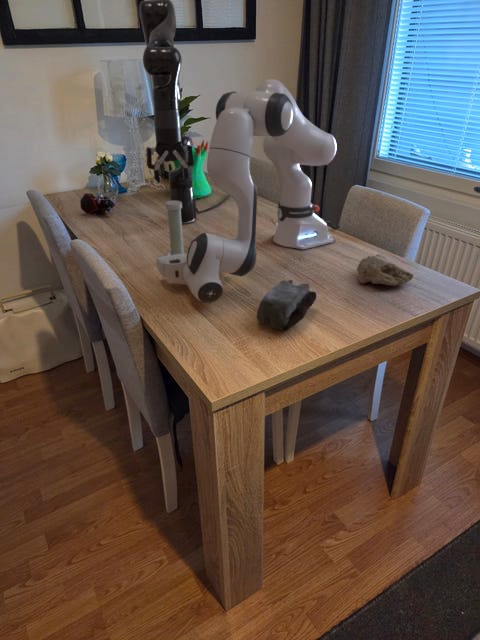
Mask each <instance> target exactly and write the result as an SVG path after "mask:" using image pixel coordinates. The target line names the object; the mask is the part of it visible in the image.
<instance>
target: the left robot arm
mask: <svg viewBox="0 0 480 640" xmlns="http://www.w3.org/2000/svg"><path fill="white" fill-rule="evenodd" d="M138 9H139V17H140V24H141V28H142V32H143V36H144V41H145V46H146V47H145V48H144V50H143V54H142V66H143V68H144V71H145V72H146V73H147V74H148V75H150V76H151V82H152V87H153V88H152V101H153V122H154V133H155V134H154V135H155V147H150V146H147V147H145V152H146V154H145V156H146V167H147V168H148V170H153V176H154V177H153V178H154V180H155V181H156V182H157V184H158V183H159V184H160V183H161V176H160V170H159V169H160V167H161V165H162V164H163V163H164V162H165V163H167V162H168V163H169V162H173V161H179V162H180V163H181V166H180V167H179V168H177V169H175V168H174V169H170V171H169V172H168V182H169V189H170V193H169V195H170V196H169V197H170V201H180V202H182V208H181V221H182V225H188V224H192V223H194V222H195V221H196V220H197V214H202V213H206V212H208V211H211V210H213V209H216V208H217V207H218V206H221V205H222V204H223V203H224V202H225V201H226V200H227V199H228V198H229V197H231V196H230V195H228V194H227V196H225V198H223V199H222V200H221V201H220V202H218V203H217V204H215V205H213V206H210V207H208V208H206V209H204V210H200V211H199V209H198V207H197V205H196V199H195V197H194V196H193V181H192V170H193V153H192V142H191V139H190V138H191V137H190V136H188V135H182V133H181V132H182V131H181V118H180V111H179V106H180V103H181V100H182V94H181V85H180V73H181V69H182V63H183V61H182V60H183V59H182V55H181V52H180V51H179V49H178V48H177V47H175V46H174V38H175V35H176V30H177V16H176V10H175V6H174V4H173V2H172V0H141V1H140V3H139V8H138ZM155 152H156V154H157V158H156V160H155V162H154V164H153V159H152V158H153V157H152V156H154V153H155Z"/></svg>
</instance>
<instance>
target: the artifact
mask: <svg viewBox="0 0 480 640" xmlns="http://www.w3.org/2000/svg"><path fill="white" fill-rule="evenodd" d="M356 271H357V280H358V281H359V282H360V284H363V285H364V284H366V283H371V284H374V285H375V284H376V285H380V284H381V285H386V286H397V285H400V284H403V285H404V284H406V283H407V282H410V281H412V279H413V277H414V274H413V273H411V272H410V271H407V270H405V269H403V268H401V267H400V266H398V265H396V264H395V263H392V262H390V261H389V260H388V259H387V258H386V257H385V256H384V255H382V254H376V255H372V256H370V255H368V256H367V257H364V258H362V259H361V260H360V261H359V263H358V266H357V268H356Z"/></svg>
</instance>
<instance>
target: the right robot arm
mask: <svg viewBox="0 0 480 640" xmlns="http://www.w3.org/2000/svg"><path fill="white" fill-rule="evenodd" d="M215 120H216V122H215V125H214V128H213V130H212V134H211V139H210V142H209V146H208V151H207V159H206V160H207V161H206V171H207V174H208V177H209V178H210V179H211V181H212V183H213V184H214V185H215V186H217V188H218V189H220V190H221V191H223V192H224V193H225V194H227V196H228V195H230V196H229V197H230V198H232V200H234V202H235V203H236V205H237V207H238V222H237V223H238V225H237V237H236V238H231V237H226V236H221V235H218V234H213V233H208V232H202V233H199V234H198V235H197V236H196V237H195V238H193V239H192V240H191V242H190V244H189V247H188V250H187V252H184V253H182V254H175V255H173V252H171V251H167V255H161V256H157V257H156V258H155V262H156V269H157V271H158V272H159V274H160V275H161V276H162V277H163V278H165V279H166V282H167V283H168V284H180V285H181V284H182V285H187V288H188V289H189V291H190V293H191V295H192V296H193V297H194V298H195V299H196V300H197V301H200V302H201V303H205V304H210V303H214V302H217V301H218V300H219V299H220V298H221V297H222V296H223V294H224V286H223V285H224V284H223V283H222V281H221V280H222V279H220V273H225V274H229V275H232V276H237V277H244V276H246V275H247V274H249V273H250V272H251V271H253V269H254V268H255V266H256V263H257V246H256V245H257V244H256V237H257V236H256V234H257V233H256V232H257V215H258V213H257V211H258V189H257V188H258V187H257V183H256V182H254V180H253V179H252V175H251V168H250V167H251V165H250V163H251V158H252V157H251V156H252V151H253V145H254V144H253V142H254V137H264V138H263V142H262V149H263V152H264V155H265V156H266V157H267V158H268V159H269V160H270V162H271V163H272V164H273V166H274V168H275V170H276V173H277V176H278V181H279V201H278V205H277V222H276V230H275V233H274V236H273V238H272V240H273V242H274V243H275V244H277V245H278V246H281V247H285V248H294V249H298V250H308V249H311V248H315V247H320V246H323V245H328V244H331V243H334V237H333V235H332V234H330V232H329V228H328V225H330V228H331V229H333V230H336V229H338V228H340V225H337V226H334V225H333V223H332V222H331V221H329V220H326V219H323V218H321V217H319V216H318V214H316V213H315V212H317V213H318V212H319V211H320V209H321V208H320V206H319V205H317V204H314V203H312V202H311V200H312V190H313V189H312V187H313V184H312V181H311V179H310V177H309V176H308V175H307V174H305V173H304V172H303V171H302V169H301V166H300V165H302V166H303V165H304V166H310V167H320V166H328V165H329V164H330V163H331V162H332V161H333V160H334V158H335V156H336V154H337V141H336V138H335V137H334V135H333V134H331V133H330V132H329V133H328V132H326V131H324V130H322V129H321V128H319V127H318V126H316V125H315V124H313V123H312V122H311V121H310V120H308V118H306V117H305V115H303V113H302V111H301V109H300V108H299V106H298V104H297V102H296V100H295V99H294V96H293V95H292V93H291V92H290V91H289V90H288V88H287V87H286V86H285V85H284V84H283V83H282V82H281V81H280V80H278V79H275V78H268V79H265V80H263V81H262V82H261V83H259V84H258V86H257V87H256V88H255V90H253V91H251V90H250V91H238V92H237V91H230V92H226V93H223V94H222V95H221V97H220V98H219V99H218V101H217V103H216V107H215ZM255 183H256V184H255ZM327 224H328V225H327Z"/></svg>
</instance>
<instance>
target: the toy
mask: <svg viewBox="0 0 480 640" xmlns="http://www.w3.org/2000/svg"><path fill="white" fill-rule="evenodd" d="M101 196H102V193H101V192H97V193H96V194H95V195H94V194H93V193H91V192H90V193H84V195H83V196H82V197H81V198H80V200H79V201H80V203H79V204H80V209H81V210H82V211H83V212H84V213H85V214H88V215H92V216H98V217H106V218H109V216H108V215H107V213H108V214H113V213H114V212H115V209H114V207H115V206H116V204H117V201H116V200H115V199H114V198H113V197H111V196H110V197H107V196H102V197H101Z"/></svg>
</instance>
